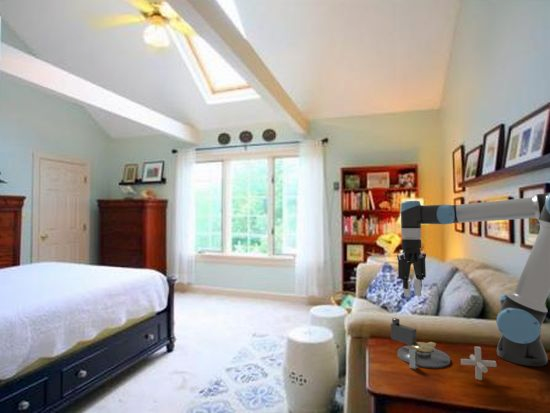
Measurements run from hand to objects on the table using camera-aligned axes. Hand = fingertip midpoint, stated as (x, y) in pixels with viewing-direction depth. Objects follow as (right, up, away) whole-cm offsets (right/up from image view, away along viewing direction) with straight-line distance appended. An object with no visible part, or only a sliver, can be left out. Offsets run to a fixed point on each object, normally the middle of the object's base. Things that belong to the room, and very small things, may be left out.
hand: (412, 296), depth 136 cm
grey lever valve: (-3, -17, -6) cm, 19 cm away
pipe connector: (+10, -20, -27) cm, 35 cm away
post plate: (-2, -20, -11) cm, 23 cm away
